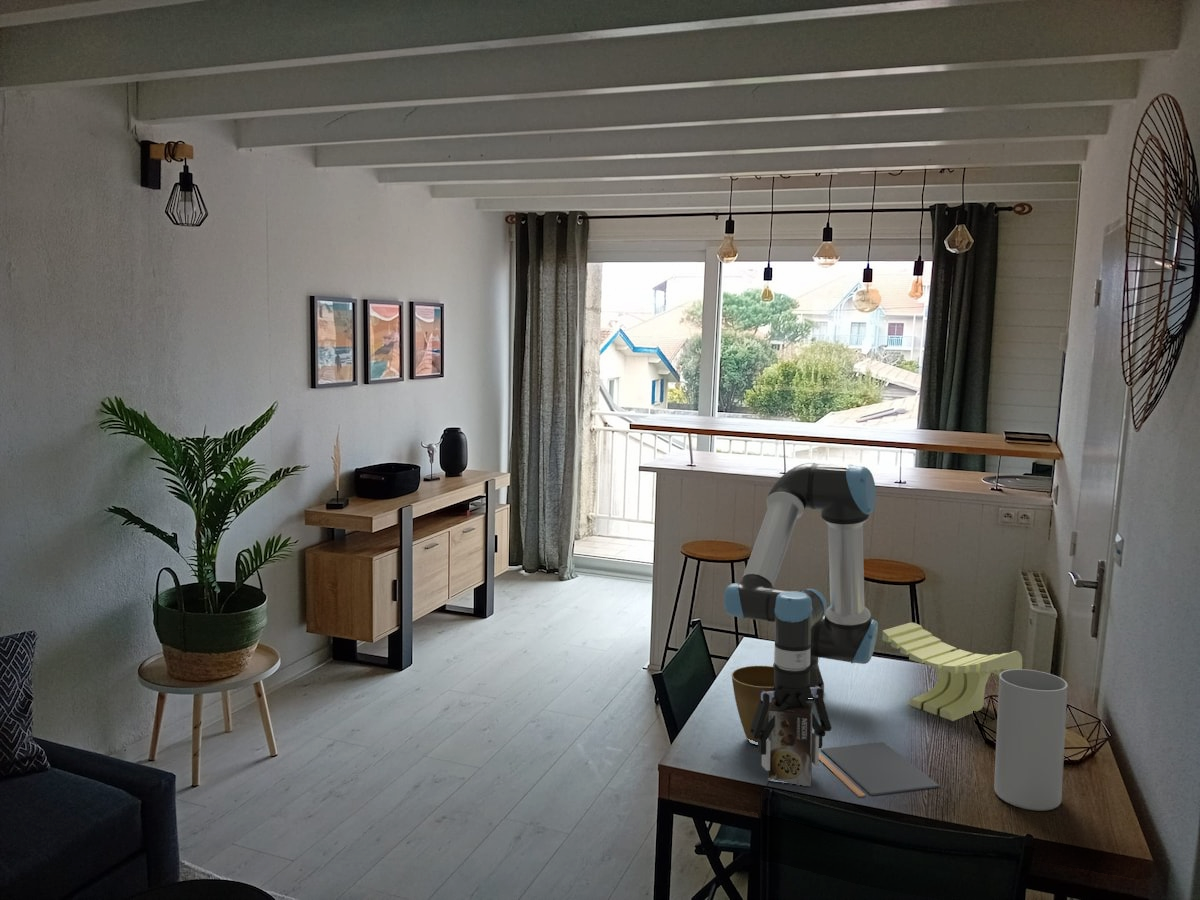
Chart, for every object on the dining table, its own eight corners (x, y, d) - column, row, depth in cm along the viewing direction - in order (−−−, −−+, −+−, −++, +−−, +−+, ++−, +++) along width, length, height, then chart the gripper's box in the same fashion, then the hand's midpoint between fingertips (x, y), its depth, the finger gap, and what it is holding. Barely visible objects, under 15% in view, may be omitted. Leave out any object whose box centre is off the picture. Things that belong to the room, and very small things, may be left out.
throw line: (809, 751, 204) (809, 750, 204) (815, 750, 205) (815, 749, 204) (858, 797, 183) (858, 795, 183) (865, 796, 183) (865, 794, 183)
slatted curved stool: (1019, 717, 224) (1023, 648, 222) (984, 732, 215) (987, 661, 213) (916, 682, 248) (918, 620, 247) (880, 694, 239) (882, 630, 237)
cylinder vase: (1006, 777, 192) (1012, 664, 189) (1069, 796, 183) (1075, 679, 181) (984, 797, 183) (989, 680, 180) (1049, 819, 174) (1056, 696, 172)
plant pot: (794, 730, 216) (795, 666, 214) (794, 757, 201) (796, 689, 200) (732, 725, 219) (733, 662, 217) (728, 751, 204) (729, 684, 203)
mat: (820, 750, 205) (820, 748, 205) (883, 743, 208) (883, 741, 208) (870, 795, 184) (870, 793, 183) (939, 787, 187) (939, 785, 187)
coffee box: (812, 774, 193) (814, 702, 191) (810, 787, 187) (812, 713, 185) (769, 768, 196) (771, 698, 194) (766, 782, 189) (768, 709, 188)
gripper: (748, 676, 182) (746, 778, 185) (850, 667, 188) (847, 767, 190) (734, 663, 190) (733, 763, 192) (832, 655, 195) (830, 752, 197)
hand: (789, 765), depth 191 cm, fingers closed on coffee box, 10 cm apart
